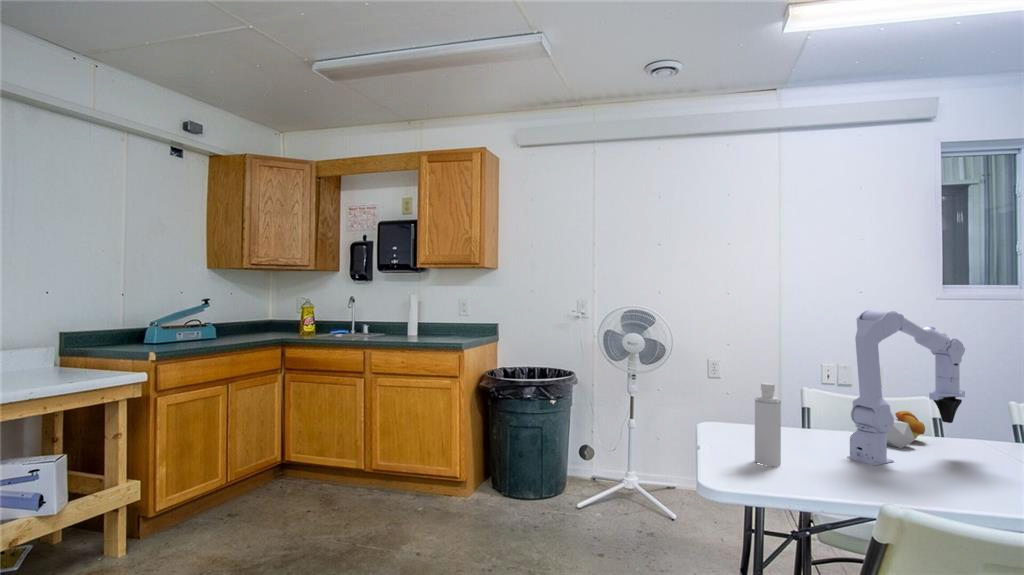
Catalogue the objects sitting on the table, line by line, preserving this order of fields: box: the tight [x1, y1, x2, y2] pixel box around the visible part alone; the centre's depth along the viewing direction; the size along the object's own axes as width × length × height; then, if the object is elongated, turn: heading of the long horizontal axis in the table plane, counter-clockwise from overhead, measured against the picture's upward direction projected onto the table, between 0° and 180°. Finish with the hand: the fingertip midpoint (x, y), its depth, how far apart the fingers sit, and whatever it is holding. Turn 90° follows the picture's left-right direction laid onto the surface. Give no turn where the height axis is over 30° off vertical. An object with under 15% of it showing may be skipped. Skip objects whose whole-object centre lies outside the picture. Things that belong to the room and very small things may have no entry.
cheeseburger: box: [894, 410, 926, 440], centre depth 182 cm, size 10×11×10 cm
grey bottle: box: [754, 382, 782, 467], centre depth 153 cm, size 7×7×25 cm
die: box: [887, 419, 916, 449], centre depth 174 cm, size 8×9×10 cm
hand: (947, 422), depth 163 cm, fingers closed
